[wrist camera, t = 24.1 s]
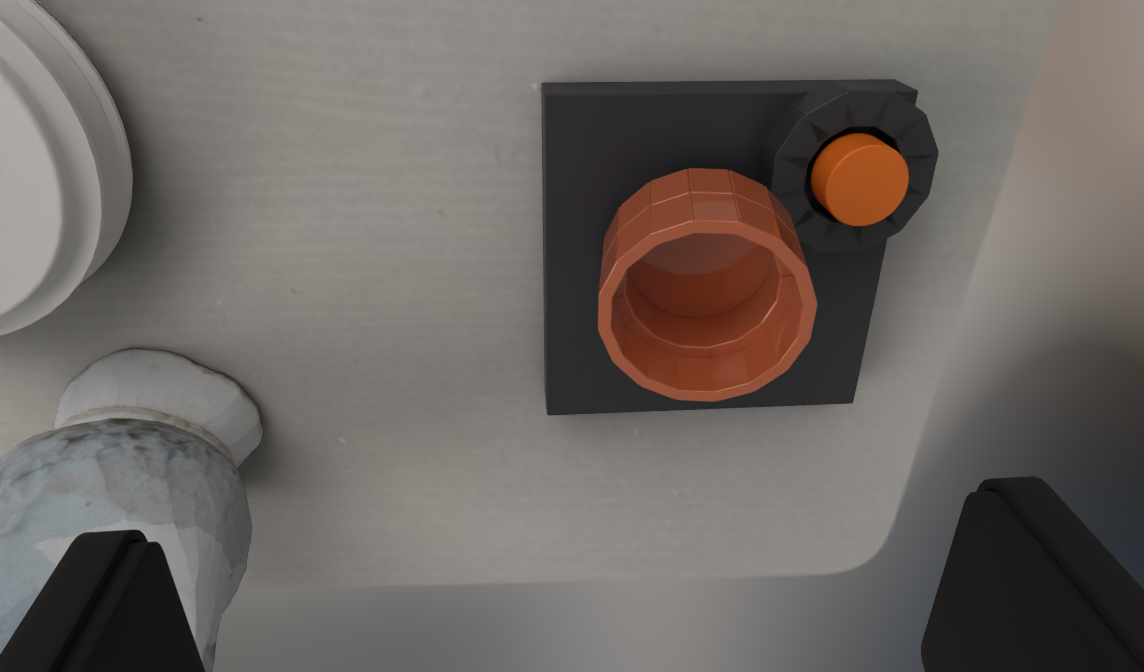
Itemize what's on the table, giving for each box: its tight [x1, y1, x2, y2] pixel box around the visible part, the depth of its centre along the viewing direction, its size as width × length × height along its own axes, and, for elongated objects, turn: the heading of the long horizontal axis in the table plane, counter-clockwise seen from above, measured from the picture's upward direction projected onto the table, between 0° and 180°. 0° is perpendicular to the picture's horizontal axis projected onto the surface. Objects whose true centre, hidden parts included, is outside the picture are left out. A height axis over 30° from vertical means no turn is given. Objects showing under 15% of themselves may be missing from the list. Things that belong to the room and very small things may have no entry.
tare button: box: [811, 133, 909, 226], centre depth 27 cm, size 3×3×2 cm
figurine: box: [0, 348, 263, 672], centre depth 28 cm, size 10×9×15 cm
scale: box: [541, 80, 938, 415], centre depth 31 cm, size 13×13×4 cm
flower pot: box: [598, 168, 818, 402], centre depth 28 cm, size 7×7×4 cm
